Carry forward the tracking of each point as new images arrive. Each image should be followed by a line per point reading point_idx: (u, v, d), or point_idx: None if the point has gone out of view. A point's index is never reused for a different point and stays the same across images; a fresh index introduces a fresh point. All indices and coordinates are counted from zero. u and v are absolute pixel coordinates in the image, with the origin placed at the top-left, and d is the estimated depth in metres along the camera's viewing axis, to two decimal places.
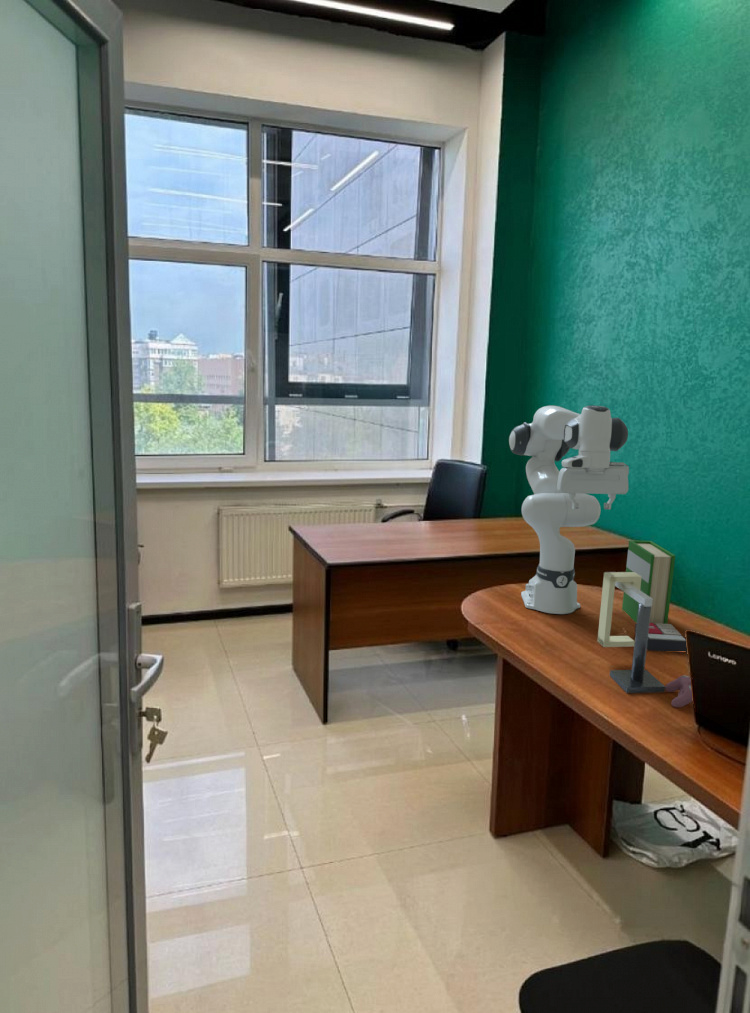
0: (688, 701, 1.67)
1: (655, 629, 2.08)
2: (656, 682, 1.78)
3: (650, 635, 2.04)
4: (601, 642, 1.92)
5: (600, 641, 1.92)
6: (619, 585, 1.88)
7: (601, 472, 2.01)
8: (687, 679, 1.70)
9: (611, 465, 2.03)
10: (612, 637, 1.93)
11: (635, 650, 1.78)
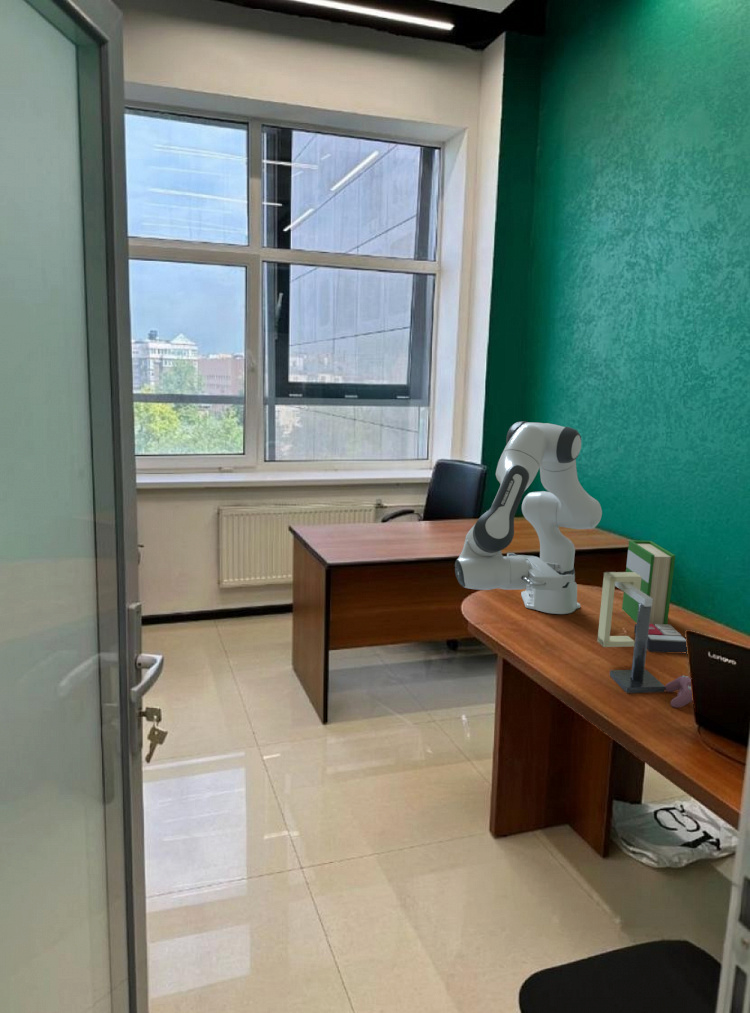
0: (687, 701, 1.67)
1: (655, 630, 2.07)
2: (656, 682, 1.78)
3: (651, 636, 2.03)
4: (601, 642, 1.92)
5: (600, 641, 1.92)
6: (619, 585, 1.88)
7: (528, 584, 1.85)
8: (686, 679, 1.70)
9: None
10: (612, 637, 1.93)
11: (635, 650, 1.78)
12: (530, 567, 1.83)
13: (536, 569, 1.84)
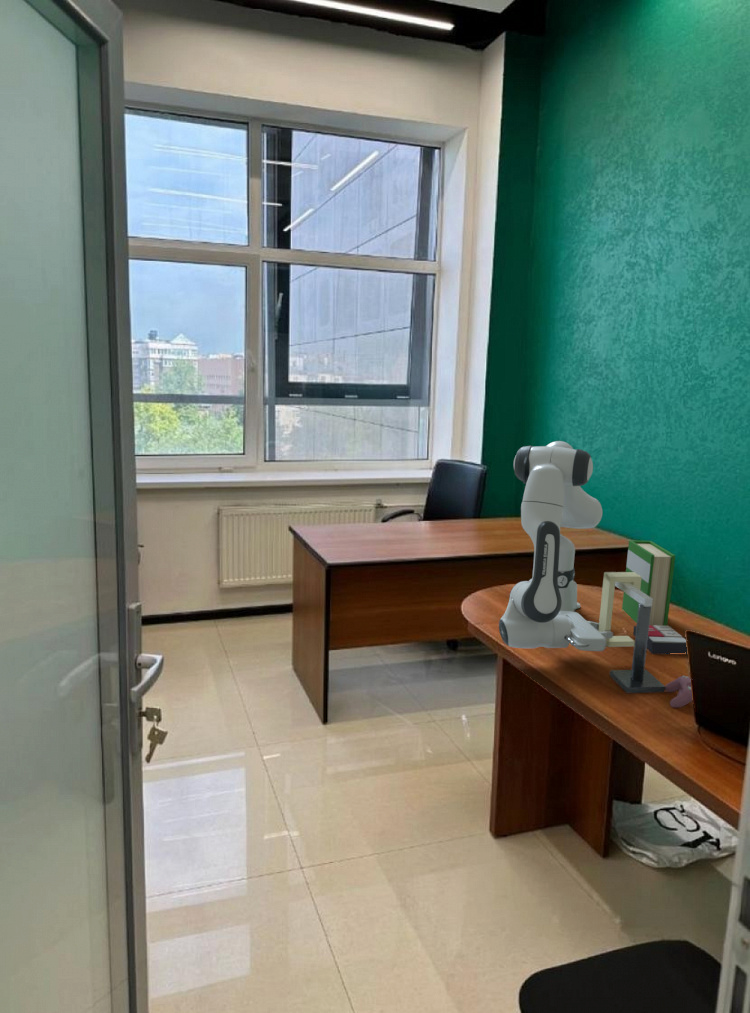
0: (687, 701, 1.67)
1: (656, 632, 2.06)
2: (656, 682, 1.78)
3: (653, 638, 2.01)
4: None
5: None
6: (619, 585, 1.88)
7: None
8: (686, 679, 1.70)
9: None
10: (612, 637, 1.93)
11: (635, 650, 1.78)
12: (572, 626, 1.88)
13: (578, 628, 1.88)
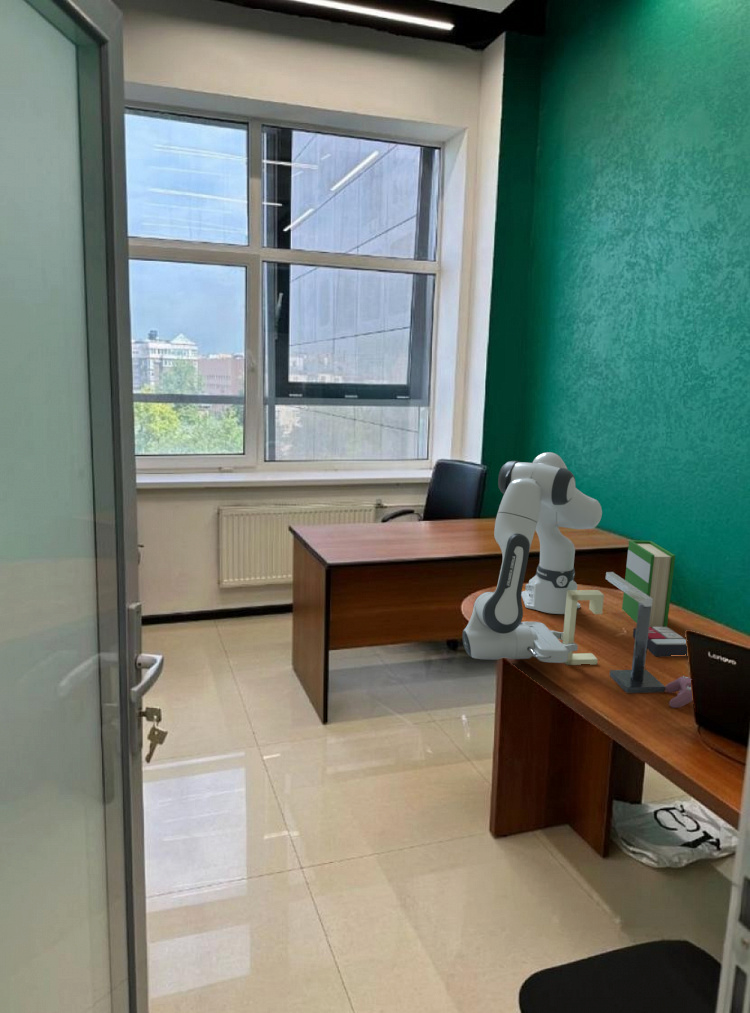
0: (686, 702, 1.67)
1: (657, 634, 2.05)
2: (656, 682, 1.78)
3: (656, 641, 2.00)
4: None
5: None
6: (619, 585, 1.88)
7: None
8: (686, 680, 1.70)
9: None
10: (575, 655, 1.93)
11: (635, 650, 1.78)
12: (536, 637, 1.87)
13: (541, 639, 1.88)
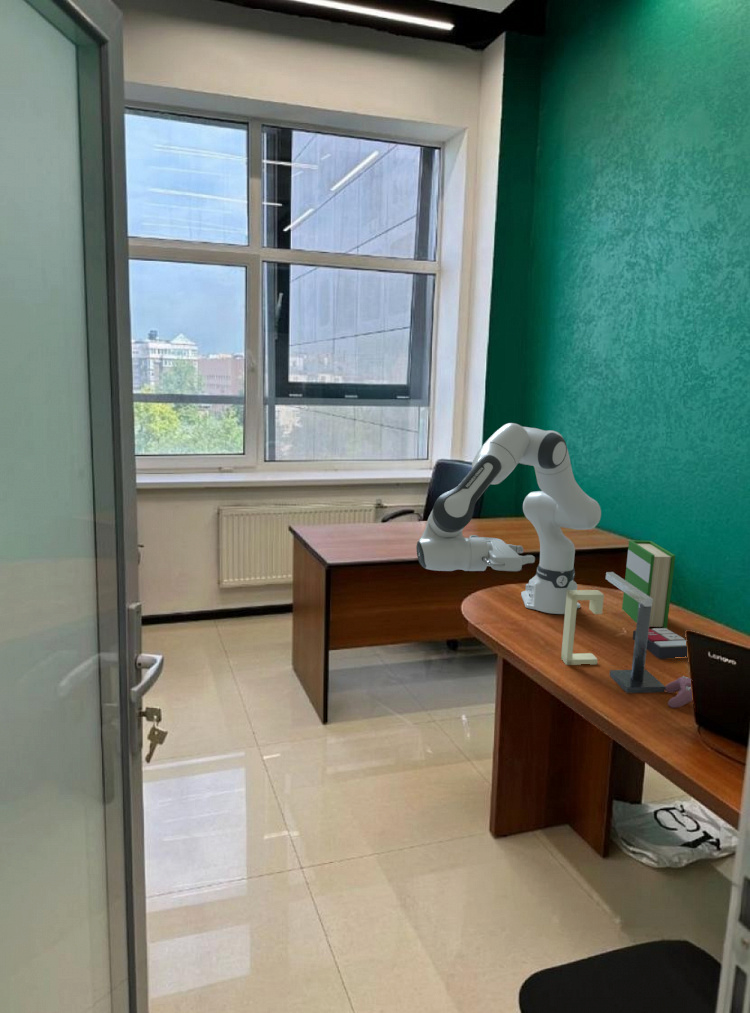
0: (685, 702, 1.67)
1: (658, 636, 2.03)
2: (656, 682, 1.78)
3: (659, 643, 1.98)
4: (564, 660, 1.92)
5: (563, 659, 1.92)
6: (619, 585, 1.88)
7: (489, 565, 1.86)
8: (685, 680, 1.70)
9: None
10: (575, 655, 1.93)
11: (635, 650, 1.78)
12: (491, 548, 1.84)
13: (497, 550, 1.85)
